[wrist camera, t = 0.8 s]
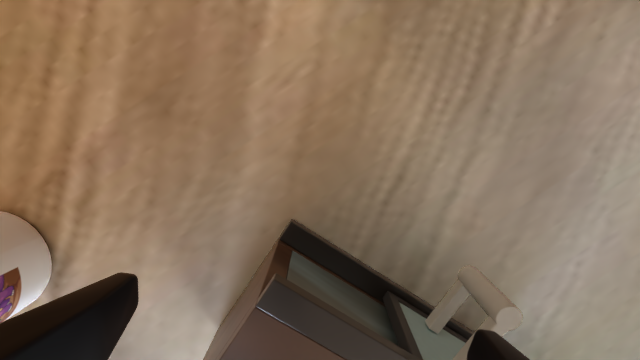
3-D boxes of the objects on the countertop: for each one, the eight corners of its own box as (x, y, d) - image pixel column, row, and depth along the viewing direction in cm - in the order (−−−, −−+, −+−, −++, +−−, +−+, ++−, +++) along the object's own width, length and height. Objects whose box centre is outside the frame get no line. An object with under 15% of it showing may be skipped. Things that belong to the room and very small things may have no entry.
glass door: (481, 358, 24) (545, 454, 17) (381, 297, 23) (407, 372, 16) (531, 300, 23) (619, 376, 16) (429, 234, 22) (477, 285, 16)
